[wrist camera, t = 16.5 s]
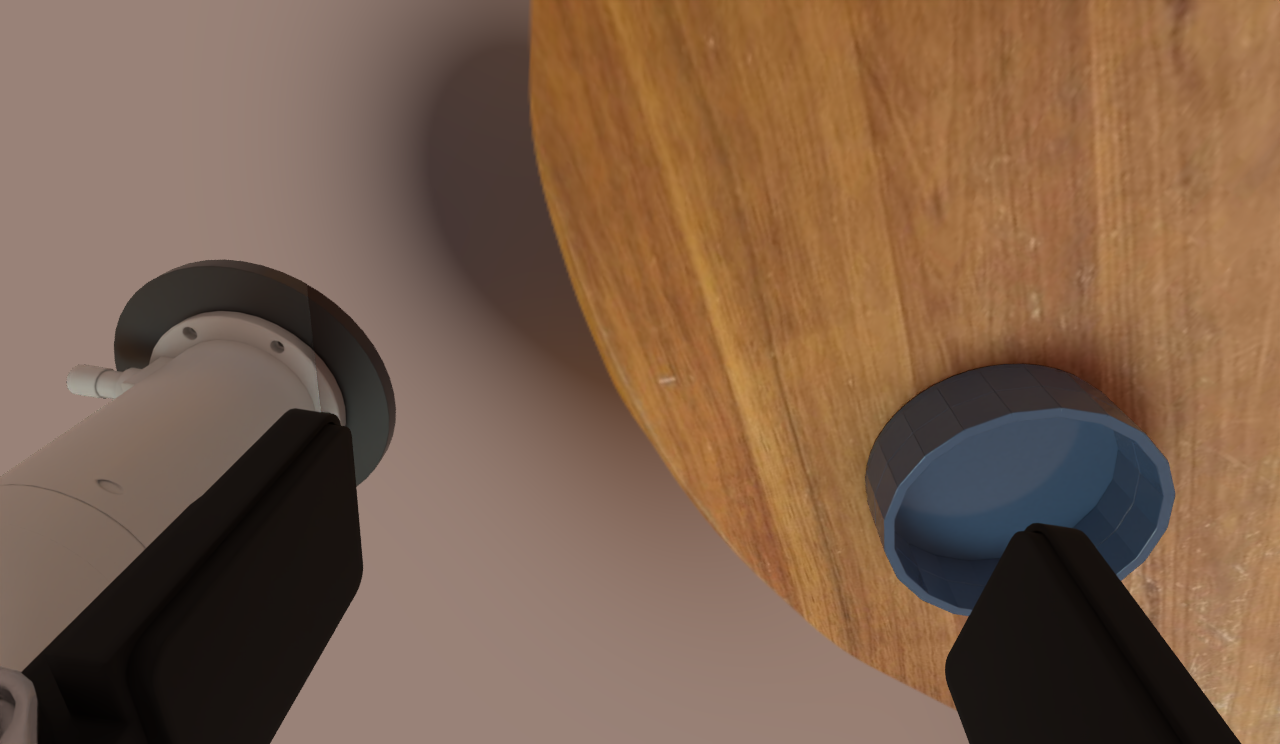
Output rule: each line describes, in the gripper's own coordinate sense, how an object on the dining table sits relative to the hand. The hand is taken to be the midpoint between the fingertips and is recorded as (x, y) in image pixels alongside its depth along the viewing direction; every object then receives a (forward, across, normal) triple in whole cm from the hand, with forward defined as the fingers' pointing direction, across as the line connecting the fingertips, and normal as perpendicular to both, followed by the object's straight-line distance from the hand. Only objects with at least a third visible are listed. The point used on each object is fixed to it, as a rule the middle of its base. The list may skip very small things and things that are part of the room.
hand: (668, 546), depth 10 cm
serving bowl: (+28, -22, +16) cm, 39 cm away
